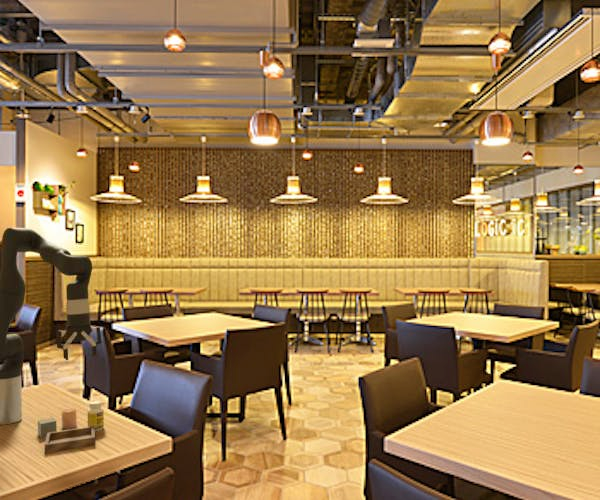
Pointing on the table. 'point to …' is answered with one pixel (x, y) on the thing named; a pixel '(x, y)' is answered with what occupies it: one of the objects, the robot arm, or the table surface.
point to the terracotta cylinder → (69, 419)
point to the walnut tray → (70, 439)
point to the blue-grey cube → (46, 426)
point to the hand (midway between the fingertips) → (80, 358)
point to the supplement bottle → (96, 415)
